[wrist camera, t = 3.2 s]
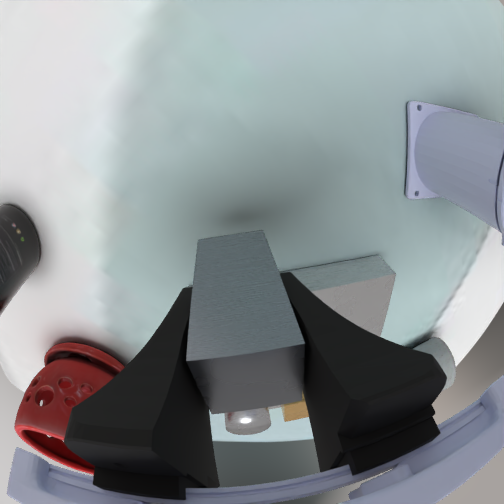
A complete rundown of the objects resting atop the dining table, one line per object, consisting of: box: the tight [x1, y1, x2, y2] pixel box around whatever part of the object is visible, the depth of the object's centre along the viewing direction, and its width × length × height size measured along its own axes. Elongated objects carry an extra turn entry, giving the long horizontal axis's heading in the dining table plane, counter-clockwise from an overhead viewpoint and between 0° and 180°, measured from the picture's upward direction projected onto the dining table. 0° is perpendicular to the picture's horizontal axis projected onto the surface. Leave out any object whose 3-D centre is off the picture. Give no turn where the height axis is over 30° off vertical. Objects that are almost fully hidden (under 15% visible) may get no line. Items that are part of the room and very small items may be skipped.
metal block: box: [186, 230, 305, 414], centre depth 10 cm, size 3×3×7 cm
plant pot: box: [15, 343, 125, 475], centre depth 20 cm, size 13×13×12 cm
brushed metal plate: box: [188, 255, 396, 435], centre depth 23 cm, size 16×16×6 cm
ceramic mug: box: [413, 337, 456, 391], centre depth 28 cm, size 11×8×8 cm
